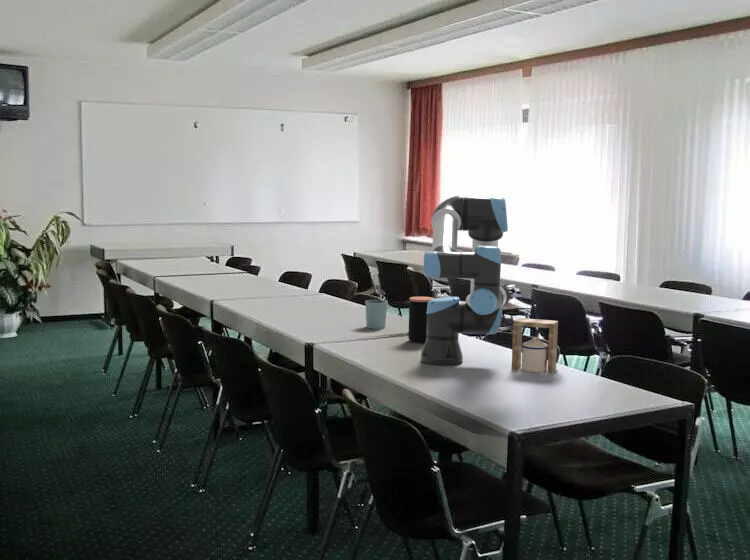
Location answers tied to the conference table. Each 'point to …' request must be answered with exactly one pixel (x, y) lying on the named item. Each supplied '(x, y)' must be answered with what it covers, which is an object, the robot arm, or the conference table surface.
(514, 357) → the wooden arch
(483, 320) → the robot arm
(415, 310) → the coffee jar
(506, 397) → the conference table surface
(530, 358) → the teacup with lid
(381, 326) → the light blue cup
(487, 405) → the conference table surface
